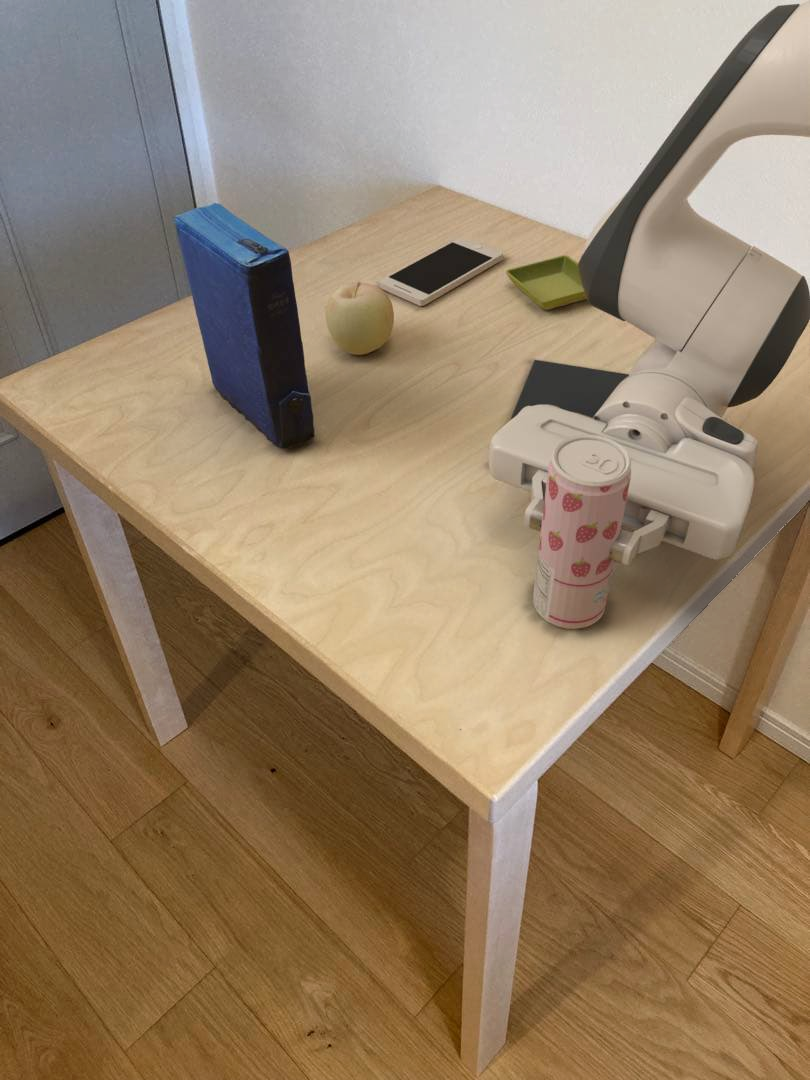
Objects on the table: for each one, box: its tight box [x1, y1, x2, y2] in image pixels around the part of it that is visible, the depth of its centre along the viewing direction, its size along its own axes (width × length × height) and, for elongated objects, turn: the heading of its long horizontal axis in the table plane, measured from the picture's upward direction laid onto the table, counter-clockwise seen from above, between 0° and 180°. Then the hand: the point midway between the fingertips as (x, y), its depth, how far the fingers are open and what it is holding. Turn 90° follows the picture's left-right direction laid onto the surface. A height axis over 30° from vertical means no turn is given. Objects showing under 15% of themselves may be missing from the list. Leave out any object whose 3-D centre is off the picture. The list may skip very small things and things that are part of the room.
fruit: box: [324, 281, 395, 356], centre depth 96 cm, size 8×7×8 cm
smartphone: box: [378, 236, 504, 307], centre depth 110 cm, size 7×16×1 cm, turn 137°
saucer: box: [505, 255, 588, 311], centre depth 105 cm, size 9×9×2 cm
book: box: [173, 202, 316, 450], centre depth 83 cm, size 14×5×20 cm, turn 37°
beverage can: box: [532, 435, 631, 630], centre depth 66 cm, size 6×6×15 cm
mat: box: [510, 359, 630, 420], centre depth 87 cm, size 18×18×1 cm
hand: (575, 539), depth 65 cm, fingers closed on beverage can, 5 cm apart
